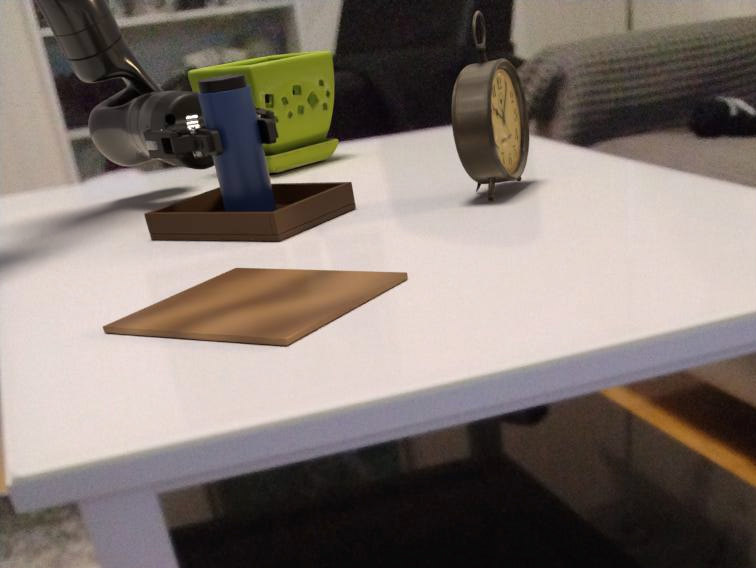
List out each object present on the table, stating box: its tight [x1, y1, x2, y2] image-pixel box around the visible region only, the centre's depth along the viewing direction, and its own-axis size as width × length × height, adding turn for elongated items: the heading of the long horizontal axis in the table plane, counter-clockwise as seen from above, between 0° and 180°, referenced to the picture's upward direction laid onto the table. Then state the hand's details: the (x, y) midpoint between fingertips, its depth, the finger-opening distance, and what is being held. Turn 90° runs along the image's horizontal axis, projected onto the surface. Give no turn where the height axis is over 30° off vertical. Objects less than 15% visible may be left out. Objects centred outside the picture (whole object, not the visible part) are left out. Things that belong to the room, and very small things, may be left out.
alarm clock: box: [450, 10, 530, 202], centre depth 102 cm, size 11×5×16 cm, turn 159°
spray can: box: [197, 74, 277, 212], centre depth 103 cm, size 5×5×13 cm
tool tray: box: [143, 181, 357, 242], centre depth 106 cm, size 17×13×3 cm
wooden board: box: [102, 267, 409, 347], centre depth 80 cm, size 18×16×1 cm
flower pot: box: [187, 50, 339, 174], centre depth 134 cm, size 14×14×13 cm
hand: (245, 137), depth 101 cm, fingers closed on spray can, 5 cm apart
